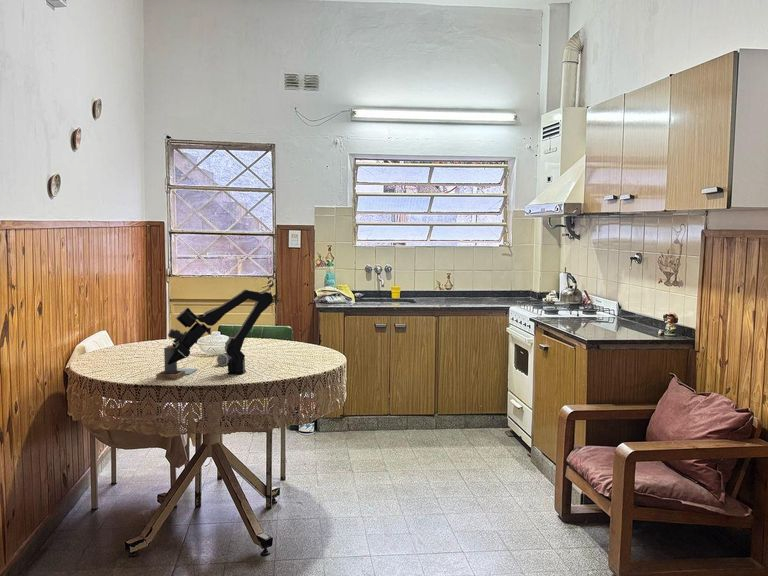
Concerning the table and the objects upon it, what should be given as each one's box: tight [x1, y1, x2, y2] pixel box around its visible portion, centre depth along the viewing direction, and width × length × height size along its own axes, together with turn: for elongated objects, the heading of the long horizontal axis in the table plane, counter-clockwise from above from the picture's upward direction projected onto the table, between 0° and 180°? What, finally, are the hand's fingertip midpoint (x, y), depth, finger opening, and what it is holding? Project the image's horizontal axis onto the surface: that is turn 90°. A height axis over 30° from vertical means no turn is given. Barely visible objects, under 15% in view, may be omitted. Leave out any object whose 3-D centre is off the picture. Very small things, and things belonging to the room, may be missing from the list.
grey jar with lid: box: [163, 344, 178, 374], centre depth 300 cm, size 5×5×14 cm
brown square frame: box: [155, 369, 186, 381], centre depth 300 cm, size 9×9×2 cm
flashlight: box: [216, 352, 231, 367], centre depth 333 cm, size 15×5×5 cm, turn 164°
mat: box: [177, 367, 198, 376], centre depth 310 cm, size 10×10×1 cm
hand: (167, 361), depth 299 cm, fingers open, 9 cm apart
